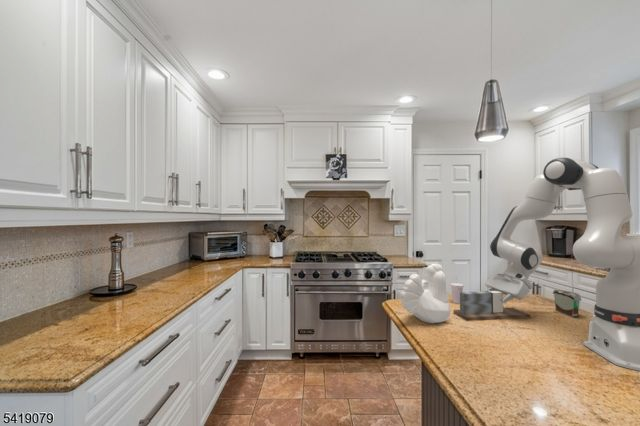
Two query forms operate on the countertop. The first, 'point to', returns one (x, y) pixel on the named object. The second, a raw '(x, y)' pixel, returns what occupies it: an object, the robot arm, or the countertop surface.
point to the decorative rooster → (427, 295)
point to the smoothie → (456, 291)
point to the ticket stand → (484, 308)
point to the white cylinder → (497, 301)
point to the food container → (567, 302)
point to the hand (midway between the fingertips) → (494, 299)
